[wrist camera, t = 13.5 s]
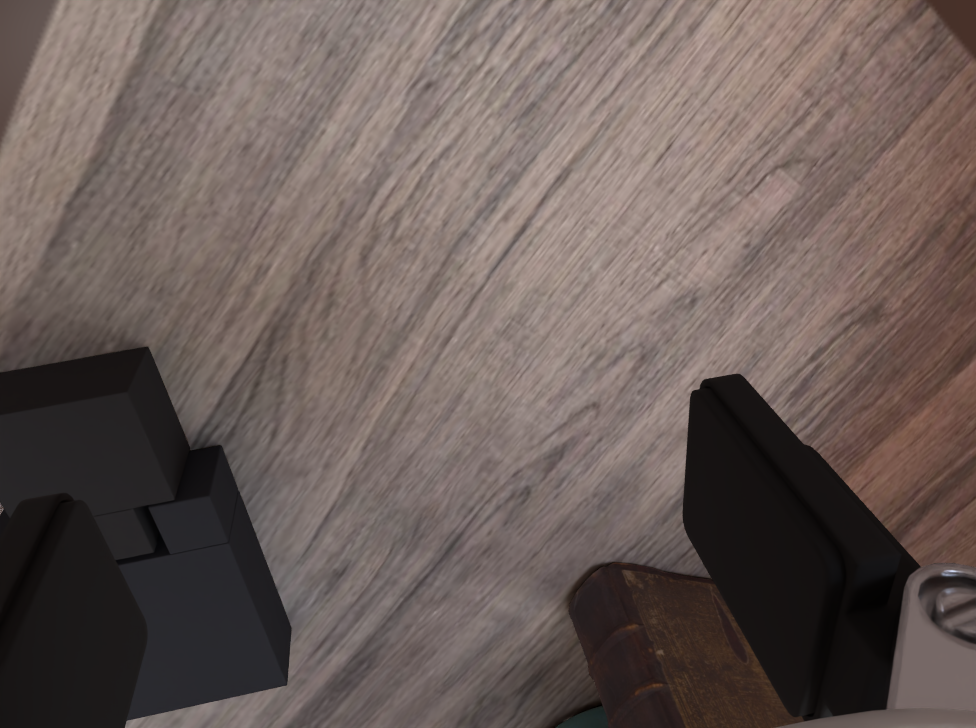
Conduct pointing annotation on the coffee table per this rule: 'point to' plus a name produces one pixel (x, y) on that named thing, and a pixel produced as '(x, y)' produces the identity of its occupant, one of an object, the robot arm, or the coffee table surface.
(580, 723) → the flower pot
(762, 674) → the book
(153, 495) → the pad
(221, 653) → the notch pad
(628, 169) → the coffee table surface
